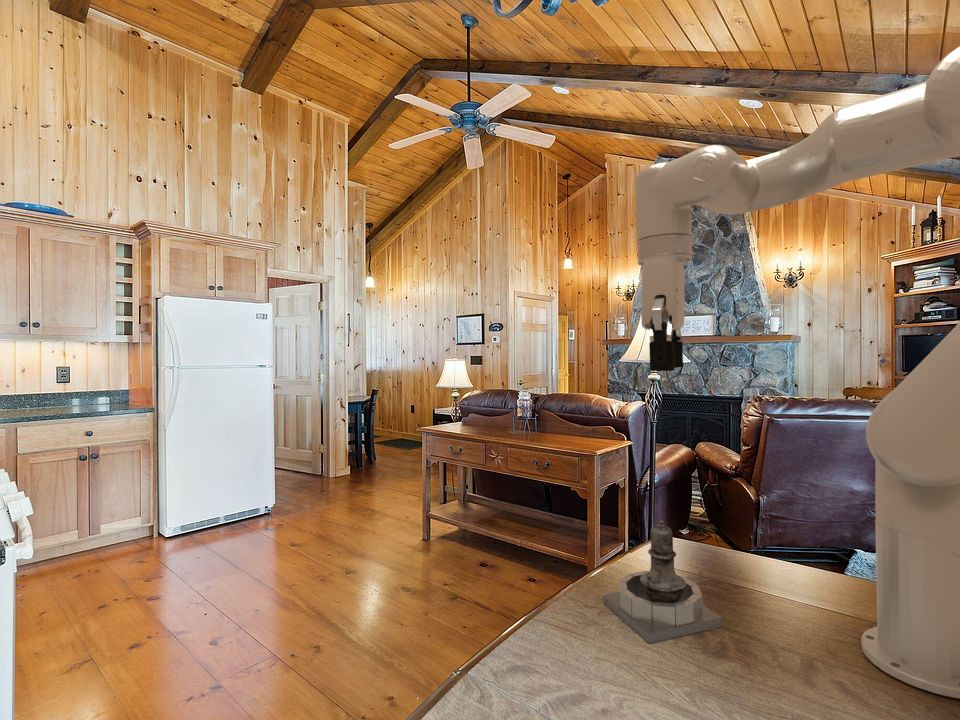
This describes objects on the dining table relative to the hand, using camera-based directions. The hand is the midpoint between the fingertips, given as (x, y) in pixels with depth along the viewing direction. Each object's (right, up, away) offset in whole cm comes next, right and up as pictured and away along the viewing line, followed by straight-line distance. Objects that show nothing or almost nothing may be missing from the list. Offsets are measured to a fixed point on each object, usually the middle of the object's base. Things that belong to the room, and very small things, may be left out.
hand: (667, 368), depth 77 cm
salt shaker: (-3, -32, -6) cm, 33 cm away
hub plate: (-3, -33, -5) cm, 34 cm away
